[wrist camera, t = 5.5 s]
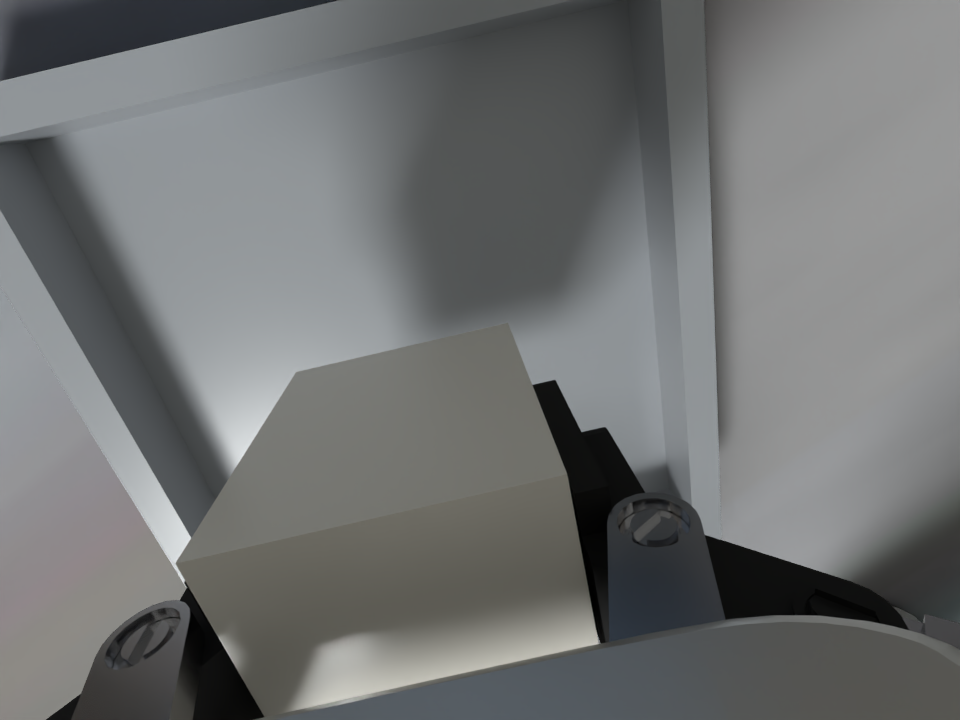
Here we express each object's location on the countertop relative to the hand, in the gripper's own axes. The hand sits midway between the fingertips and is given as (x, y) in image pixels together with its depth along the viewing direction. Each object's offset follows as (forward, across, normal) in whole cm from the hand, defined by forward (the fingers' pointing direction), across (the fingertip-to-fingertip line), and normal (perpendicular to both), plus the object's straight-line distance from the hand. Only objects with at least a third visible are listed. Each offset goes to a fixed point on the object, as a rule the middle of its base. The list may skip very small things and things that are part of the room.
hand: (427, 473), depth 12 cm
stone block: (+1, 0, 0) cm, 1 cm away
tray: (+7, 0, -1) cm, 7 cm away
